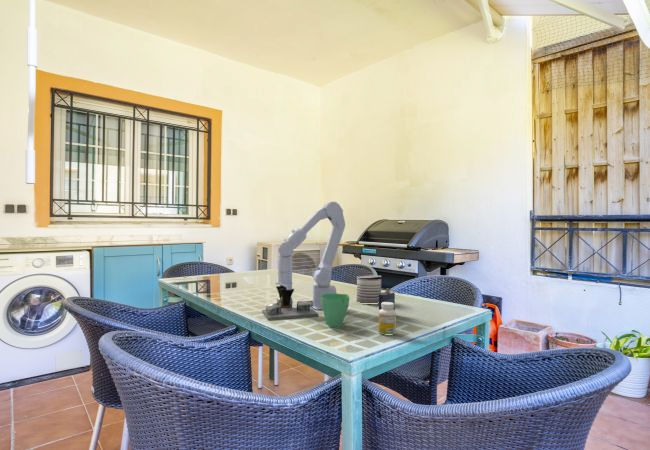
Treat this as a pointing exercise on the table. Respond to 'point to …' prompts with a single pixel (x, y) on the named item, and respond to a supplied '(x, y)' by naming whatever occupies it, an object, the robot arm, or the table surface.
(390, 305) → the supplement bottle
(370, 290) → the can
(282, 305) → the coupler
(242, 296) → the table surface
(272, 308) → the shaft
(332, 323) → the green cup
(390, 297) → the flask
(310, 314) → the base board
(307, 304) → the shaft
